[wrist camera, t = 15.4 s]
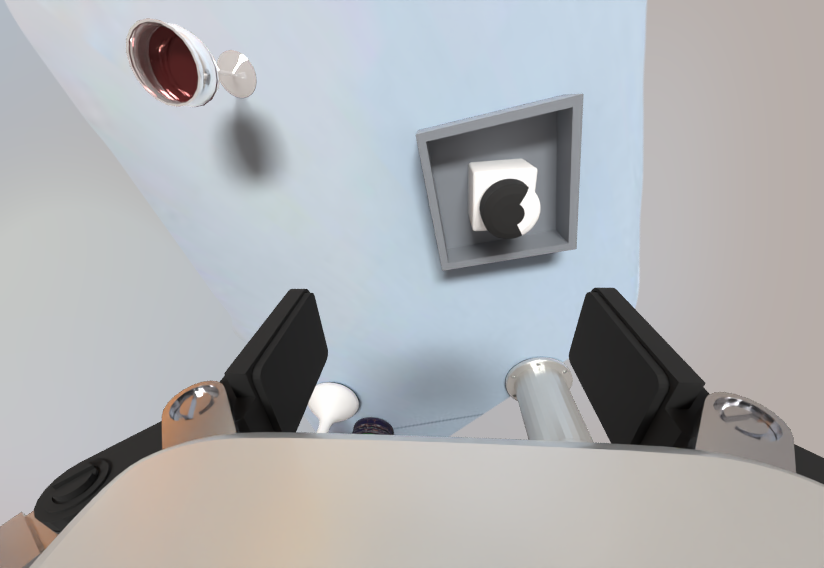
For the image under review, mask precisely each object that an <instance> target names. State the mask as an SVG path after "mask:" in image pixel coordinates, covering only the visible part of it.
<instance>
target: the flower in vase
mask: <svg viewBox="0 0 824 568" xmlns="http://www.w3.org/2000/svg"><path fill="white" fill-rule="evenodd" d="M308 406H309V407H310V409H311V411H312V412H313V413H314V414H315V415H316V416H317V417H318V418H319V421H320V422H319V427H318V430H317V432H316V433H328V432H329V429H330V427H331V425H332V424H333V423H336V422H341V421H344V420H346V419H349V418H351V417H352V416H353V415H354V414H355V413H356V412H357V410H358V408H359V401H358V399H357V397H356V395H355V393H354V392H353V391H352V390H350V389H349V388H347V387H346V386H343V385H341V384H337V383H331V382H326V383H321V384H318V385H316V386H315V388H314V391H313V393H312V396H311V398H310V400H309V403H308Z"/></svg>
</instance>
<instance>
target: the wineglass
mask: <svg viewBox="0 0 824 568" xmlns="http://www.w3.org/2000/svg"><path fill="white" fill-rule="evenodd" d="M126 53H127V56H128V60H129V64H130V67H131V69H132V71H133V73H134V75H135V77H136V79H137V80H138V81H139V82H140V84H141V85H142V86H143V88H144V89H145V90H146V91H147V92H148V93H149V94H151V95H152V96H153V97H154V98H155V99H157V100H159V101H161V102H163V103H165V104H167V105H171V106H176V107H180V106H188V107H198V106H202V105H205V104H206V103H208V102H209V101H210V100H212V99H213V98H214V96H215V95H216V93H217V91H218V89H219V81H220V82H221V84H222V85H223V87H224V88H225V89H226V90H227V91H228V92H229V93H230V94H232V95H234V96H235V97H239V98H245V97H248V96H250V95H251V94H252V93H253V91H254V90H255V87H256V74H255V71H254V68H253V66H252V64H251V63H250V61H249V60H248V59H247V58H246V57H245V56H244V55H243V54H241V53H239V52H238V51H233V50H228V51H225V52H223V53H222V54H221V55H220V56H219V58H218V60H217V64H216V61H215V59H214V56H213V55H212V53H211V52H210V50H209V49H208V48H207V46H206V45H205V44H204V43H203V42H202V41H201V40H200V39H199V38H198V37H197V36H196V35H195V34H193V33H192V32H190V31H188V30H186V29H184V28H182V27H181V26H179V25H177V24H172V23H166V22H162V21H160V20H156V19H150V18H146V19H143V20H139V21H137V22H136V23H135V24H134V25H133V26H132V27H131V28H130V30H129V33H128V35H127V38H126Z"/></svg>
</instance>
